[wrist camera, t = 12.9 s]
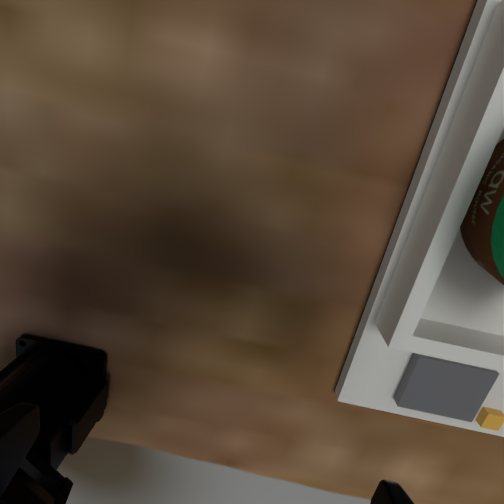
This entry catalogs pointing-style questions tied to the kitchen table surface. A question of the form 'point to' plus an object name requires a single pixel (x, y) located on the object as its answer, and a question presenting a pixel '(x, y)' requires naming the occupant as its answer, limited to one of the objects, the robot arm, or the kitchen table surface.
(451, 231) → the dock
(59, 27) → the kitchen table surface
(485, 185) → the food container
